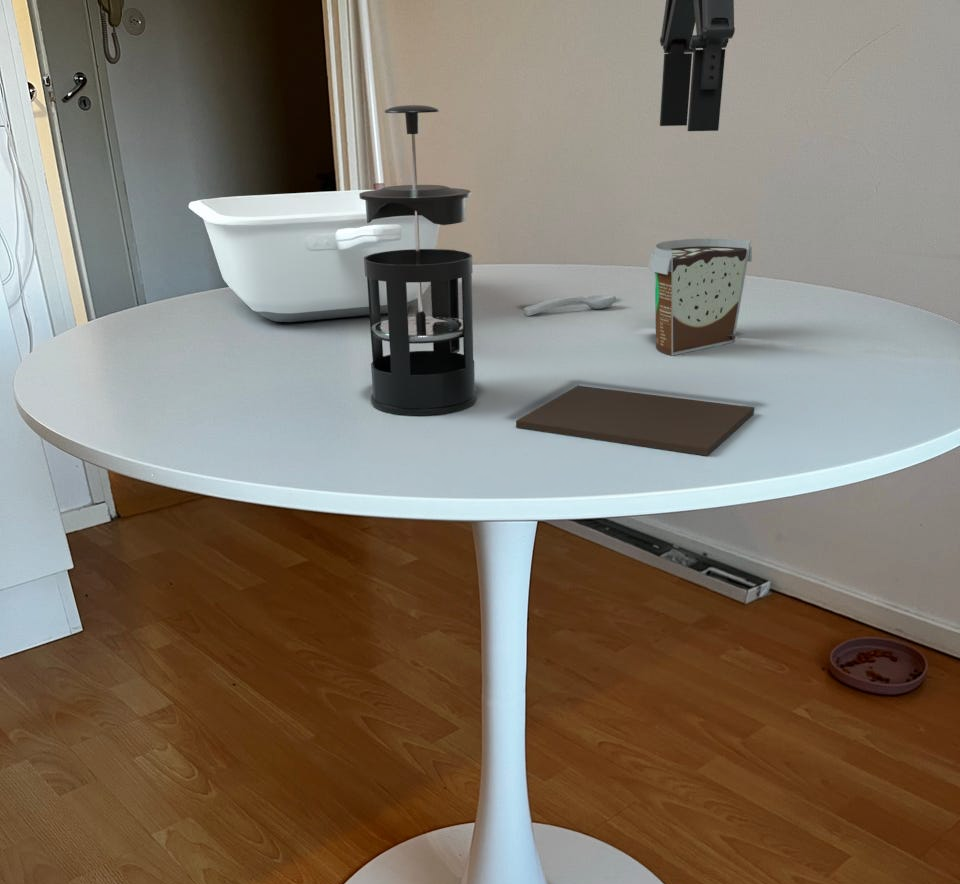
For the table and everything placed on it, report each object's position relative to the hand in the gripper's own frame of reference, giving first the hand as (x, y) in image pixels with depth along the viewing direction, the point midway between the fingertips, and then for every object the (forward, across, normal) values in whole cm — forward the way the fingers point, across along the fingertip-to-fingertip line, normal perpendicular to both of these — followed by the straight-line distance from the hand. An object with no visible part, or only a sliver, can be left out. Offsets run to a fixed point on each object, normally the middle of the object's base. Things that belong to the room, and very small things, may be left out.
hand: (687, 128), depth 99 cm
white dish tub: (+20, -14, -37) cm, 44 cm away
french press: (+20, +22, -26) cm, 40 cm away
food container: (+20, +3, 0) cm, 21 cm away
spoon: (+20, -16, -9) cm, 27 cm away
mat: (+20, +30, -9) cm, 37 cm away
